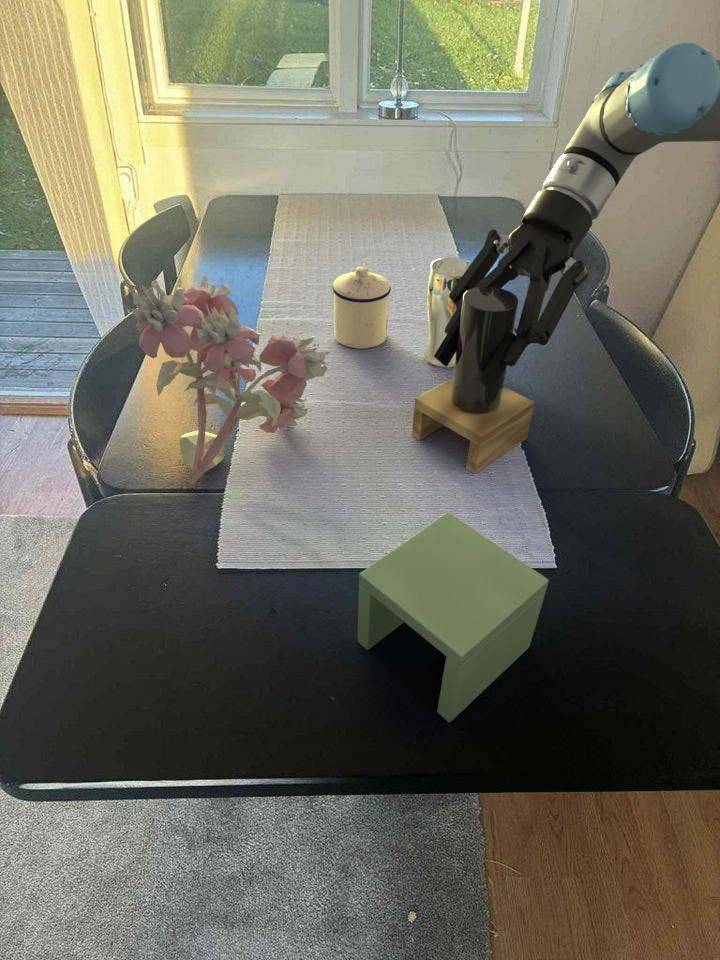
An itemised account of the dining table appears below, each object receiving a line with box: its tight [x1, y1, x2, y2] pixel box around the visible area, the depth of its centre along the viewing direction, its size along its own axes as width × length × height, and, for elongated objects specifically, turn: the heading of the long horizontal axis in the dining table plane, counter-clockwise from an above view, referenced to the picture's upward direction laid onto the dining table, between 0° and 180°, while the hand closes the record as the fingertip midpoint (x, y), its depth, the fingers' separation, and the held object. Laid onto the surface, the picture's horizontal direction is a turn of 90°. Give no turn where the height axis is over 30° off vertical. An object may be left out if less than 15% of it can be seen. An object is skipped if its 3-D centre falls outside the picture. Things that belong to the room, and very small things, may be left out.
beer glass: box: [424, 256, 473, 368], centre depth 105 cm, size 7×7×15 cm
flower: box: [131, 275, 331, 487], centre depth 86 cm, size 20×22×25 cm
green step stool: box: [357, 511, 550, 724], centre depth 66 cm, size 12×12×10 cm
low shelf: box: [411, 377, 535, 475], centre depth 92 cm, size 11×11×6 cm
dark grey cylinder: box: [451, 287, 519, 413], centre depth 86 cm, size 6×6×14 cm
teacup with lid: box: [332, 265, 392, 350], centre depth 112 cm, size 12×9×12 cm
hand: (462, 372), depth 85 cm, fingers closed on dark grey cylinder, 6 cm apart
